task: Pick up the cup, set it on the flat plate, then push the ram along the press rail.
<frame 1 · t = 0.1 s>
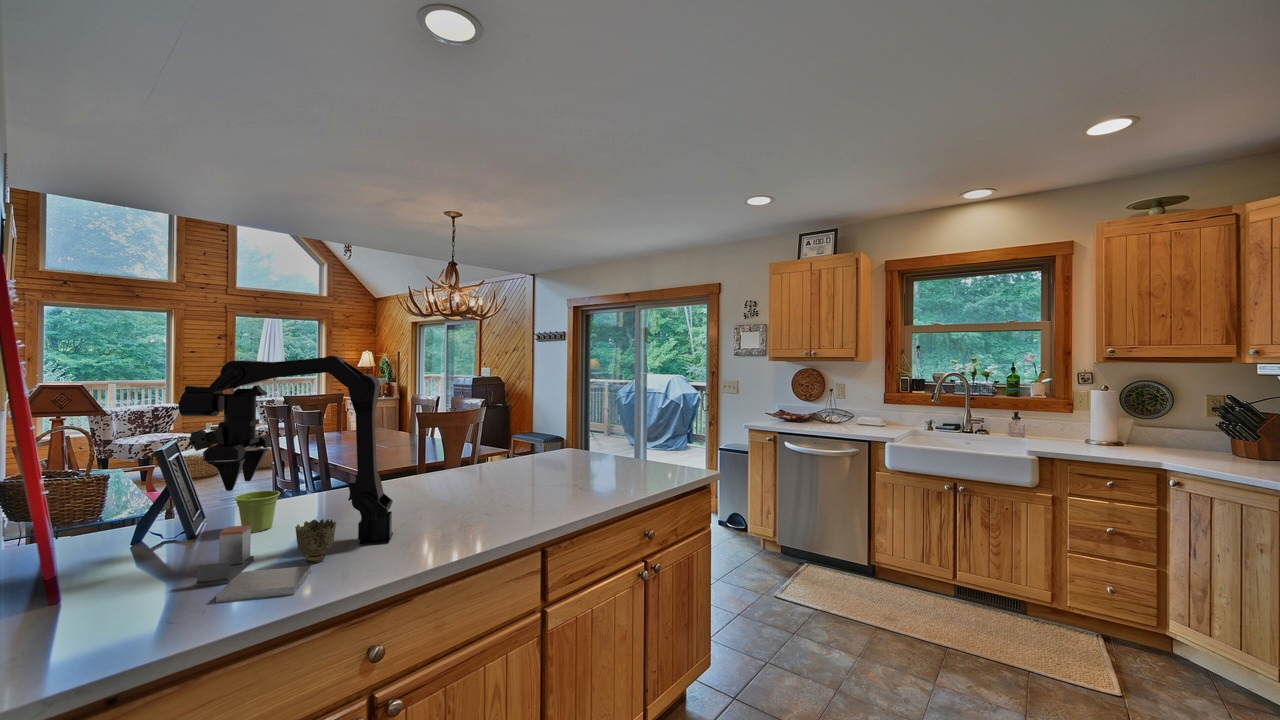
hand: (238, 485, 118), 15 cm above the worktop, fingers open, 9 cm apart
flat plate: (266, 586, 99), on the worktop
cup: (315, 561, 112), on the worktop
press rail: (227, 572, 106), on the worktop
plant pot: (257, 530, 132), on the worktop
ram: (235, 544, 109), point 4 cm above the worktop, slide at 0.0 cm
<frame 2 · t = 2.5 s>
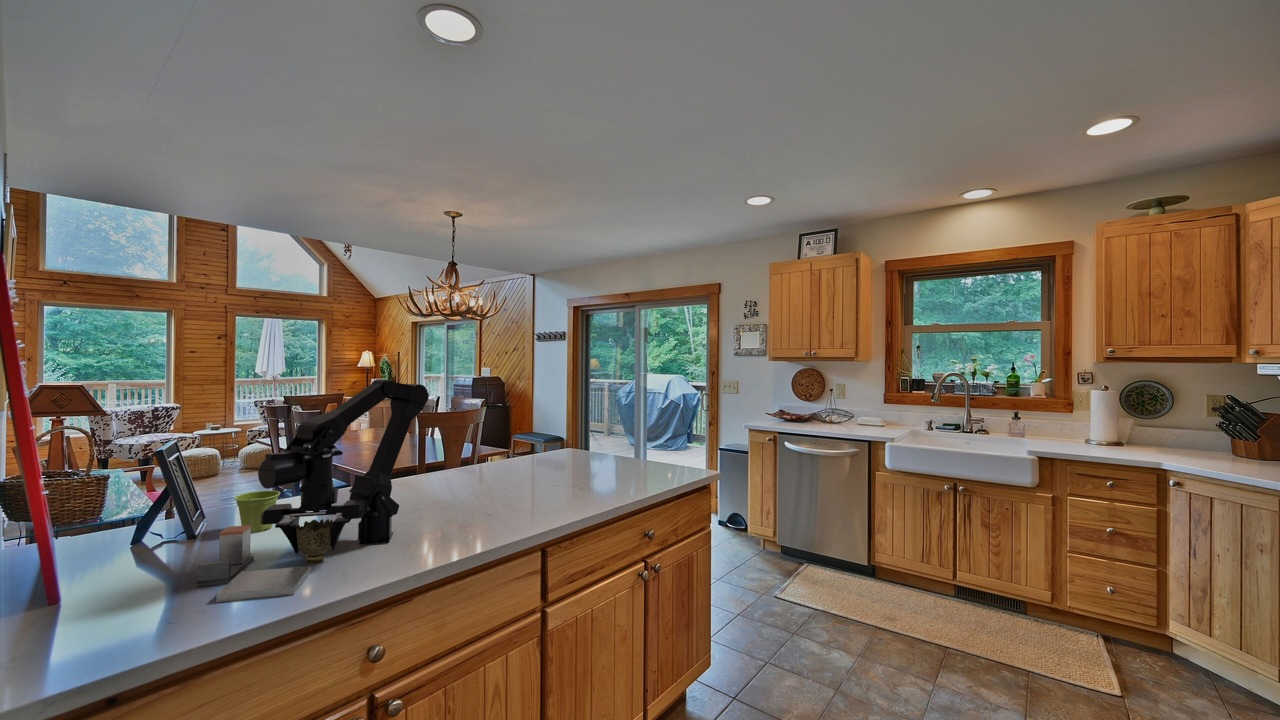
hand: (315, 551, 112), 2 cm above the worktop, fingers closed on cup, 6 cm apart
cup: (315, 561, 112), on the worktop, touching gripper
everything else where it was.
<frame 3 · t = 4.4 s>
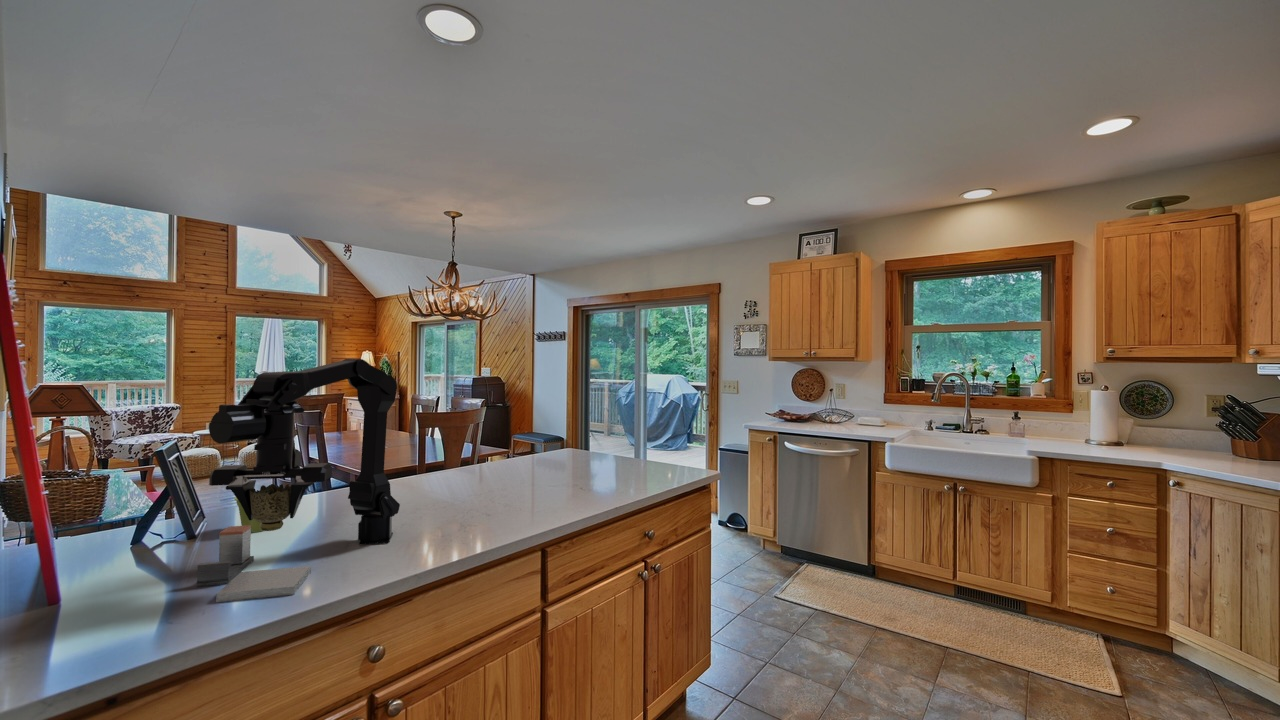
hand: (272, 518, 101), 13 cm above the worktop, fingers closed on cup, 6 cm apart
cup: (271, 530, 101), point 10 cm above the worktop, touching gripper
everything else where it was.
when the fingers open (4 cm above the worktop, at t = 6.4 s): cup stays where it is, resting on flat plate.
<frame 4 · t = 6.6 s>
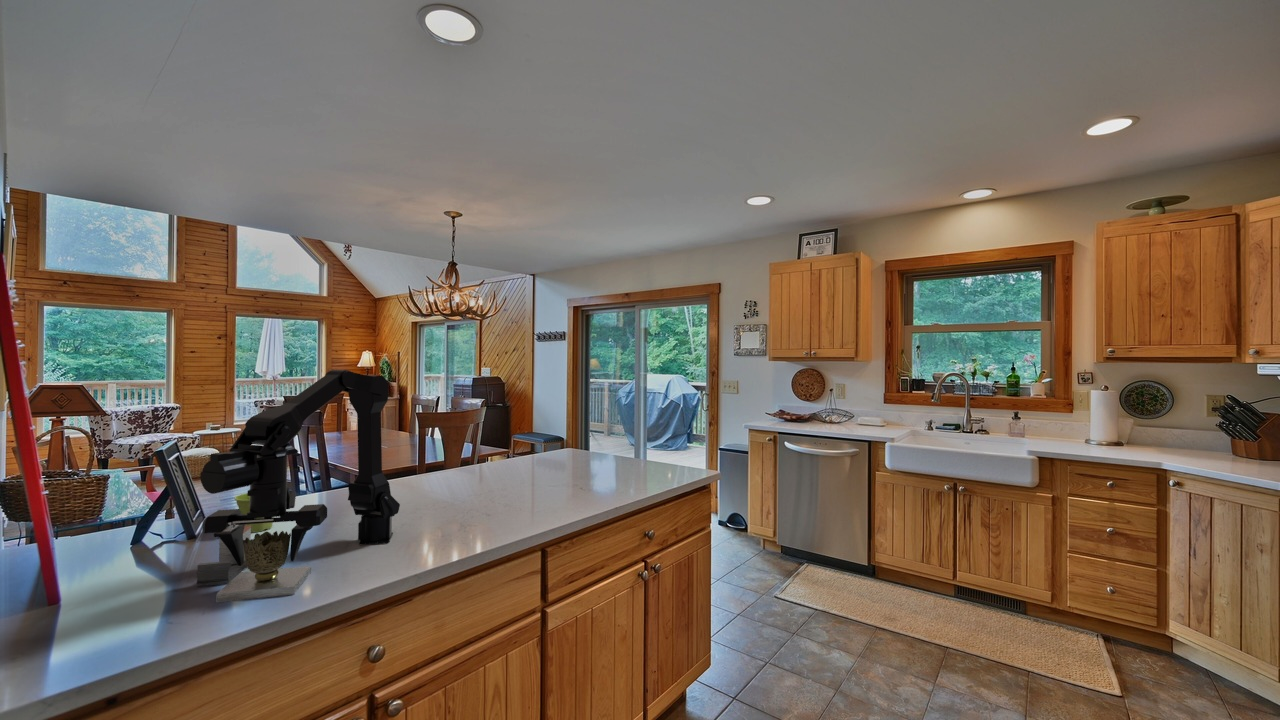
hand: (267, 563, 100), 4 cm above the worktop, fingers open, 8 cm apart
cup: (266, 579, 100), point 1 cm above the worktop, touching flat plate
everything else where it was.
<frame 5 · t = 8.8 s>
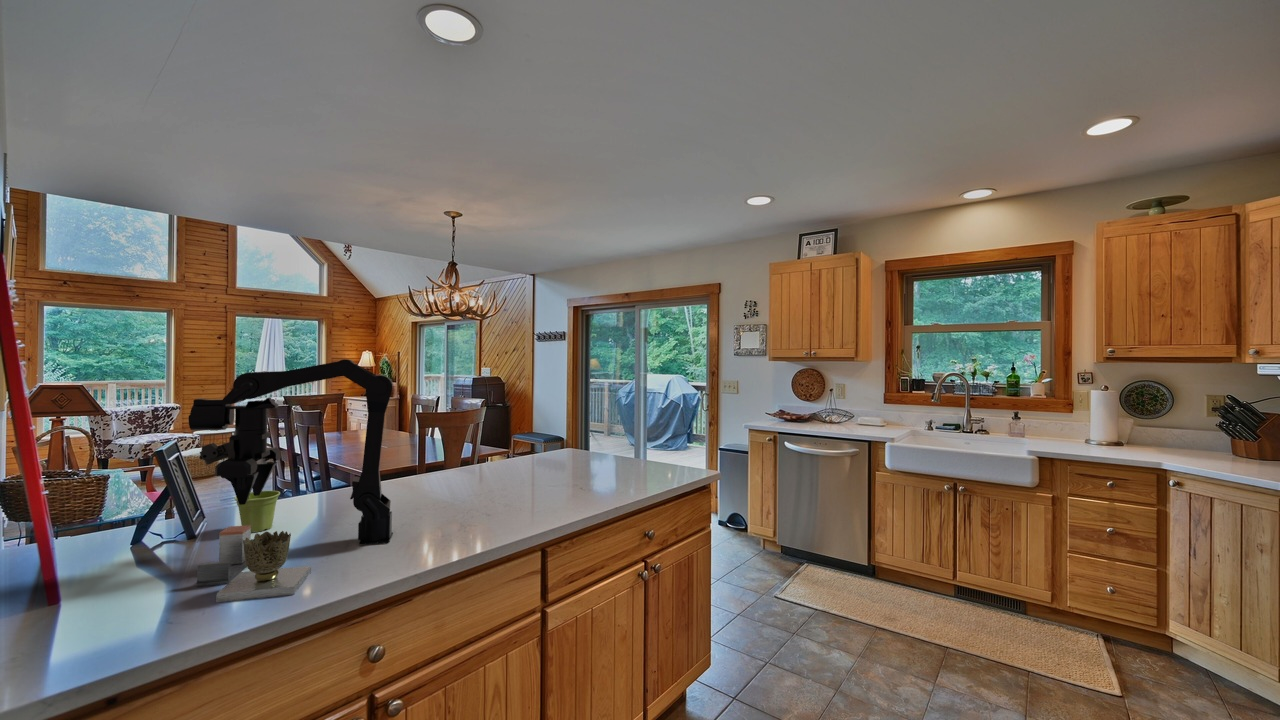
hand: (249, 499, 115), 12 cm above the worktop, fingers open, 7 cm apart
nothing on the worktop moved.
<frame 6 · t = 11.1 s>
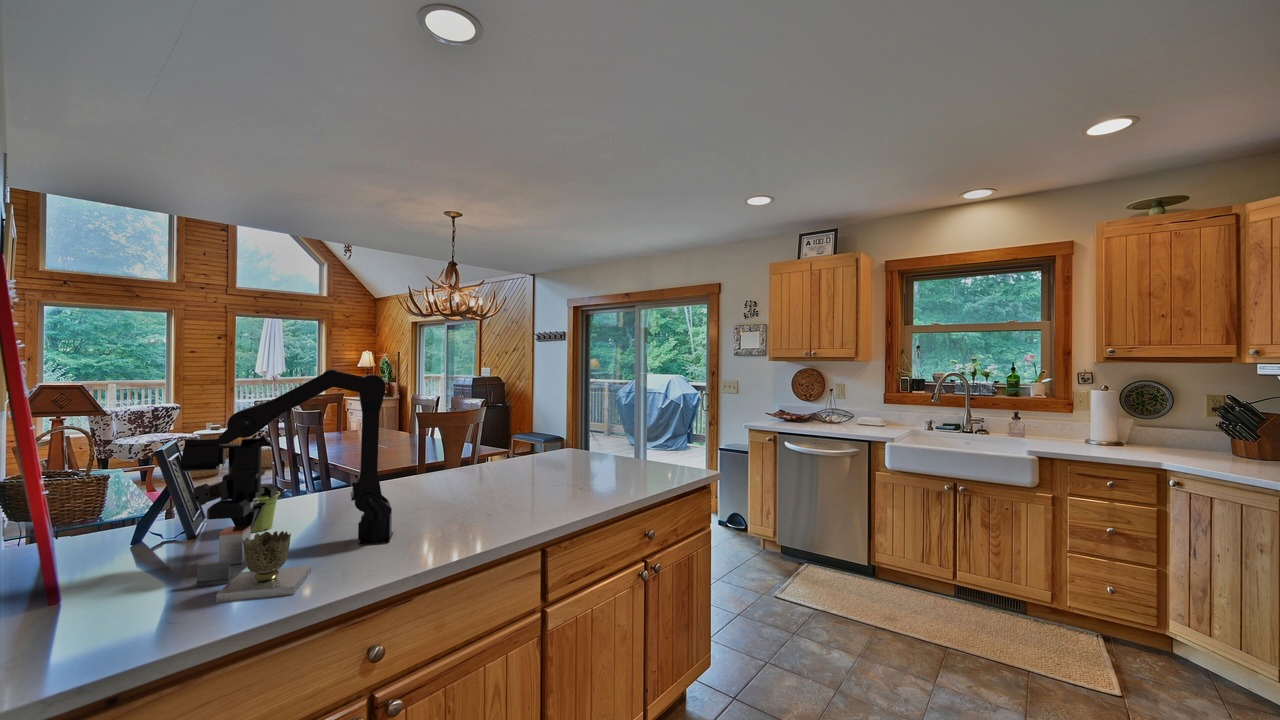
hand: (243, 540, 113), 4 cm above the worktop, fingers closed
ram: (235, 544, 109), point 4 cm above the worktop, slide at 0.0 cm, touching gripper
everything else where it was.
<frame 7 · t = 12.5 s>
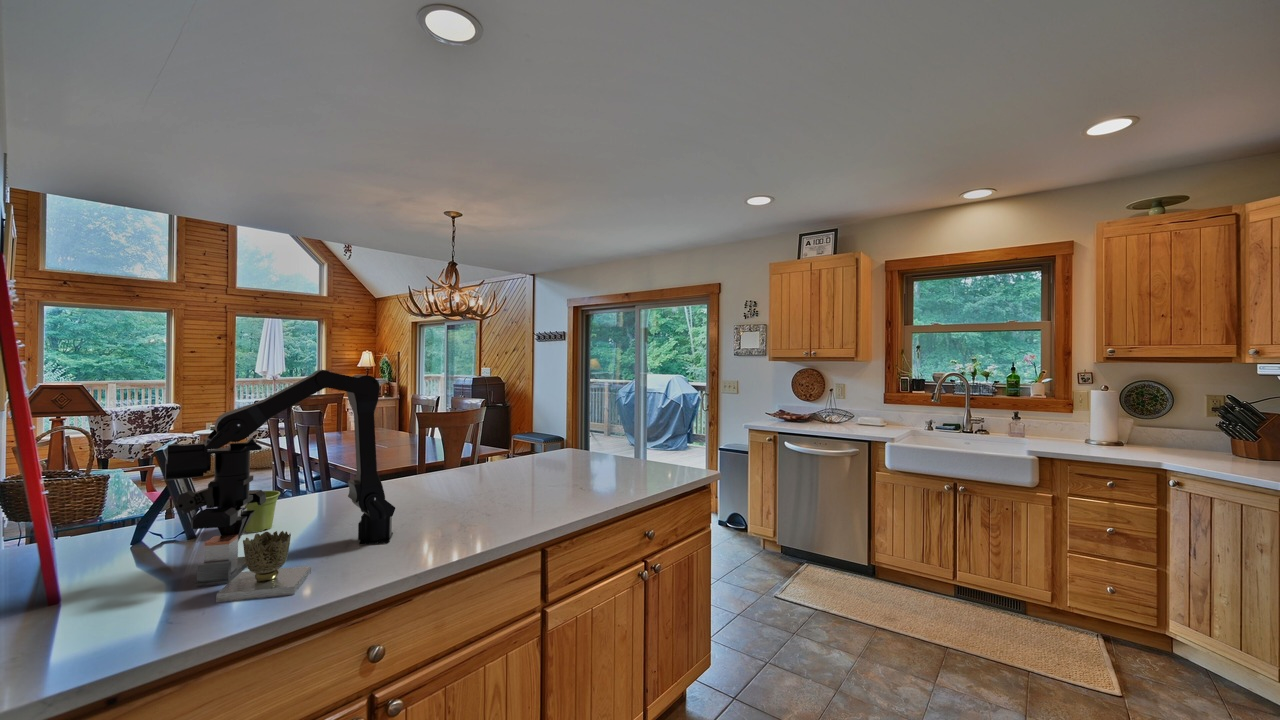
hand: (230, 549, 107), 4 cm above the worktop, fingers closed
ram: (221, 555, 103), point 4 cm above the worktop, slide at 6.1 cm, touching gripper
everything else where it was.
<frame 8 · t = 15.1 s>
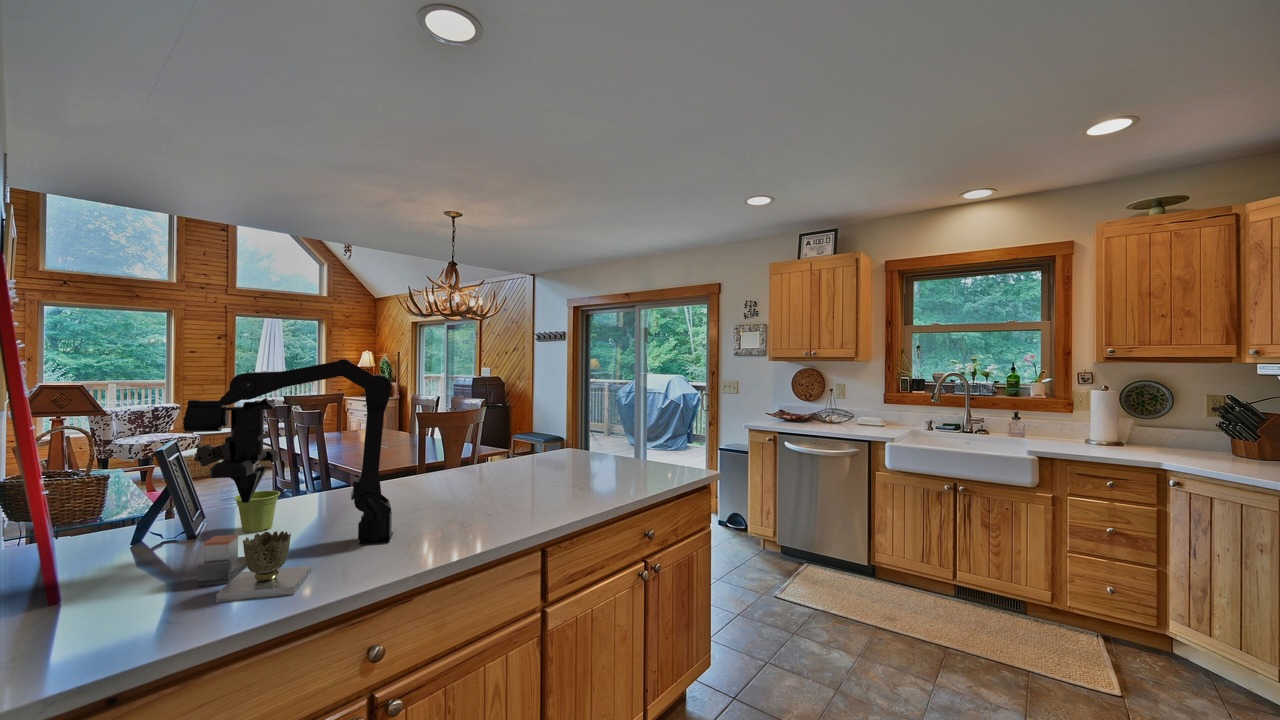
hand: (245, 502, 114), 12 cm above the worktop, fingers closed
ram: (221, 555, 103), point 4 cm above the worktop, slide at 6.2 cm
everything else where it was.
at the end: cup inside the target area on the flat plate (0.1 cm from its centre), point 1.3 cm above the flat plate's base; cup tilted 0°; ram slide at 6.2 cm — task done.
